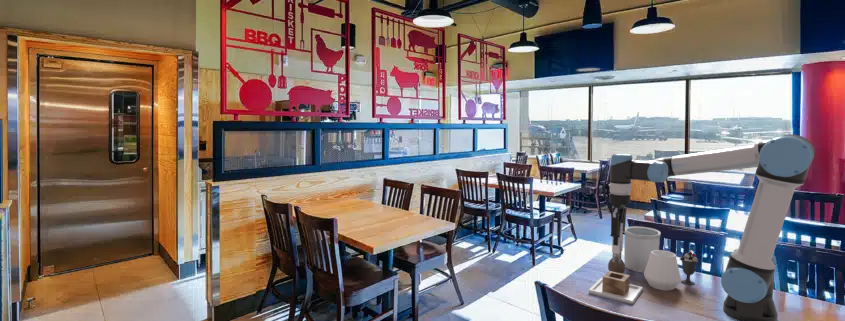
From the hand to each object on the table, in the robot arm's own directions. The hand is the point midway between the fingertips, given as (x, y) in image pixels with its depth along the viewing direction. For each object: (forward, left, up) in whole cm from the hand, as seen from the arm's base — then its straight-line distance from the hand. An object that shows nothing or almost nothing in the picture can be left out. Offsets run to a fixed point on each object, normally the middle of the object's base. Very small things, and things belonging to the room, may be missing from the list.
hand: (617, 251), depth 166 cm
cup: (-13, -18, -17) cm, 28 cm away
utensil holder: (-1, -35, -17) cm, 39 cm away
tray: (0, 0, -17) cm, 17 cm away
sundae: (-21, -28, -17) cm, 39 cm away
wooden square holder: (0, 0, -16) cm, 16 cm away
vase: (+5, -19, -17) cm, 26 cm away
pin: (0, 0, -4) cm, 4 cm away
